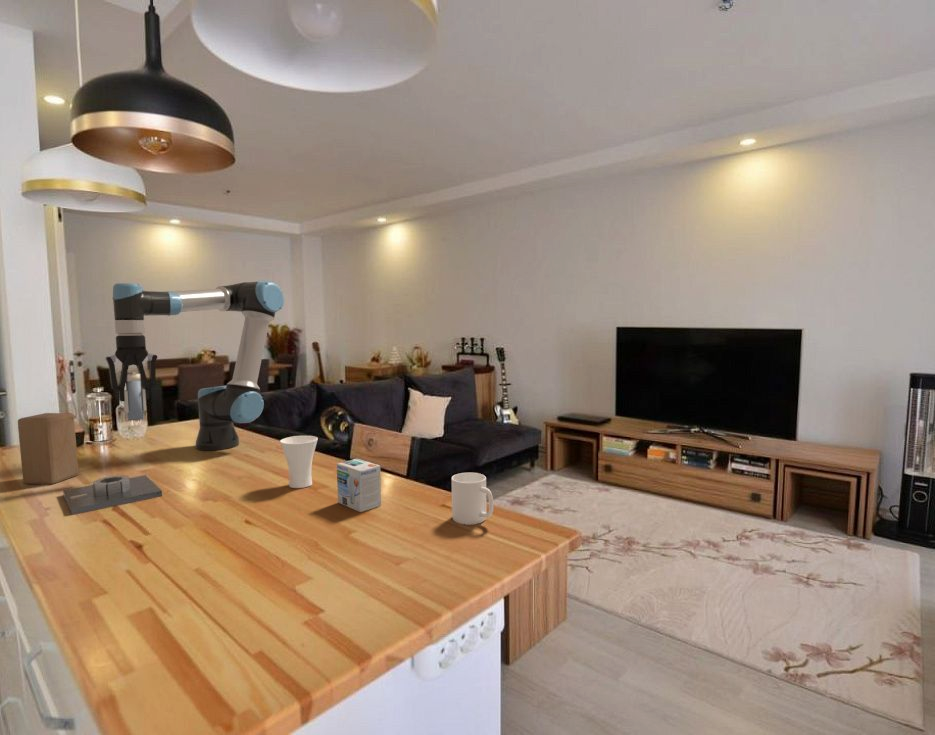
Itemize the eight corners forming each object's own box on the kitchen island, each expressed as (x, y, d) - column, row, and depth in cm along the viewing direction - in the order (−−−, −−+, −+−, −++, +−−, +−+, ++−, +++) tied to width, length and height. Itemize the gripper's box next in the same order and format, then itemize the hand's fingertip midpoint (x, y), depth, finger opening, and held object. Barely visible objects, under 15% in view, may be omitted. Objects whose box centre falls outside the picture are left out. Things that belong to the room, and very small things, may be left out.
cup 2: (469, 509, 132) (469, 470, 131) (505, 522, 123) (504, 480, 122) (444, 518, 126) (444, 477, 125) (480, 532, 117) (480, 489, 116)
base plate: (145, 479, 159) (144, 465, 159) (162, 495, 144) (161, 480, 144) (63, 495, 146) (62, 479, 145) (72, 514, 131) (70, 497, 130)
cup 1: (290, 493, 145) (288, 445, 144) (276, 484, 153) (274, 439, 152) (325, 485, 152) (324, 439, 151) (310, 477, 160) (308, 433, 159)
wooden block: (80, 475, 165) (75, 412, 163) (52, 485, 155) (46, 418, 153) (51, 474, 166) (45, 412, 164) (21, 484, 156) (15, 418, 154)
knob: (127, 419, 161) (123, 371, 160) (142, 417, 164) (139, 370, 162) (129, 420, 158) (126, 372, 157) (145, 419, 161) (141, 371, 159)
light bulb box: (336, 503, 138) (335, 463, 136) (358, 496, 142) (356, 457, 141) (361, 513, 130) (359, 470, 129) (382, 505, 135) (381, 465, 134)
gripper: (159, 333, 167) (163, 406, 169) (94, 335, 156) (100, 412, 158) (165, 334, 162) (169, 409, 164) (98, 335, 150) (104, 415, 152)
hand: (135, 410), depth 161 cm, fingers closed on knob, 4 cm apart
